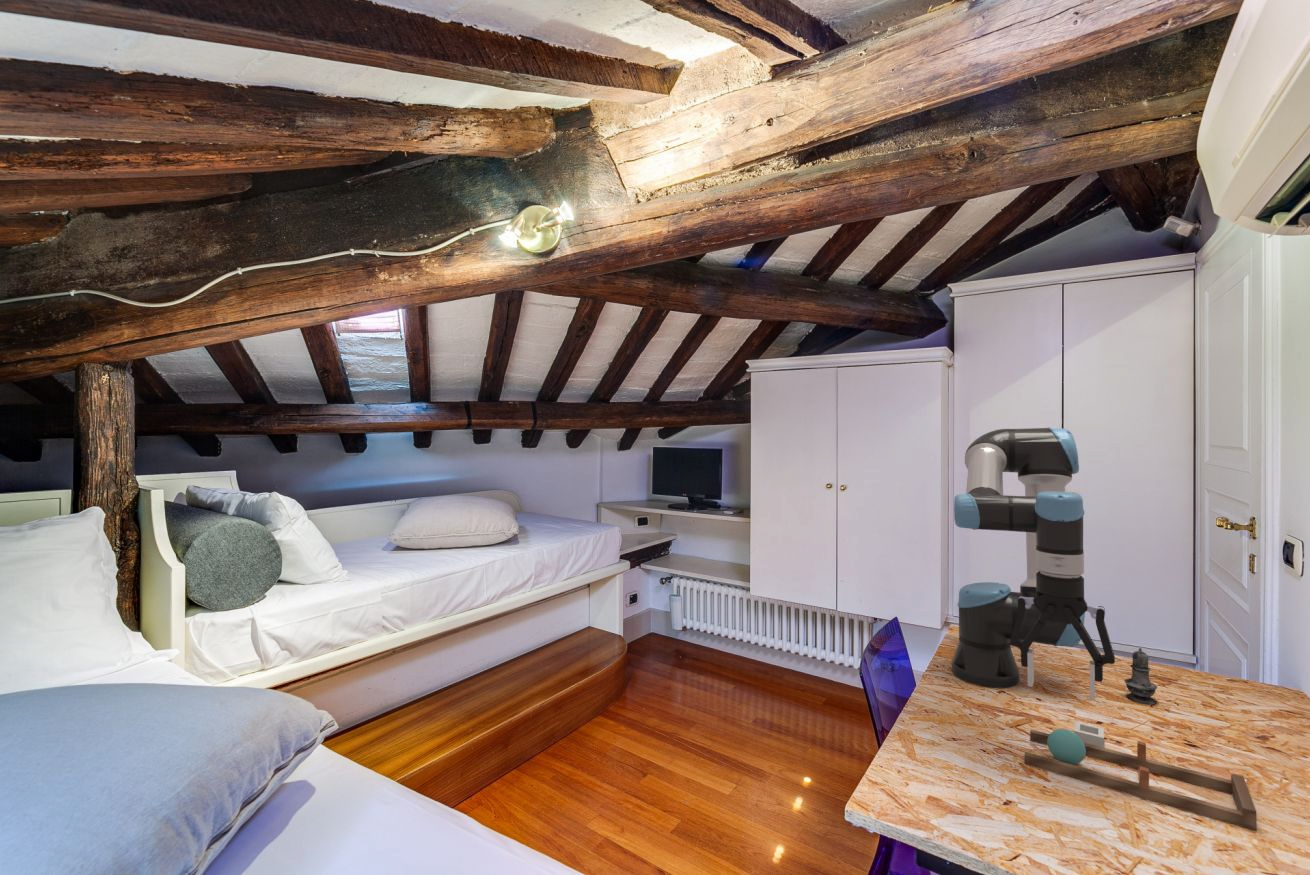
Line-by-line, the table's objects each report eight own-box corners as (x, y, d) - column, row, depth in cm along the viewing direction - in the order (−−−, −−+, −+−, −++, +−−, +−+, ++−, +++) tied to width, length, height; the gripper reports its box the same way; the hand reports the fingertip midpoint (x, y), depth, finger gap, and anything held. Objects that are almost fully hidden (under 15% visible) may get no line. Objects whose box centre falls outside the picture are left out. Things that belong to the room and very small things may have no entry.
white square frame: (1074, 740, 118) (1074, 730, 118) (1075, 730, 122) (1075, 721, 122) (1104, 748, 115) (1103, 738, 115) (1104, 737, 119) (1104, 727, 119)
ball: (1041, 759, 111) (1050, 733, 110) (1044, 742, 116) (1053, 717, 114) (1079, 777, 108) (1089, 750, 106) (1081, 759, 112) (1090, 733, 111)
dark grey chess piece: (1164, 704, 132) (1163, 652, 132) (1138, 705, 132) (1137, 652, 132) (1143, 693, 138) (1142, 642, 138) (1118, 693, 138) (1117, 643, 138)
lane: (1024, 763, 111) (1024, 738, 111) (1030, 737, 120) (1030, 714, 120) (1256, 830, 92) (1256, 800, 92) (1243, 793, 101) (1243, 766, 101)
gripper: (991, 569, 115) (992, 682, 115) (1133, 586, 102) (1135, 714, 102) (997, 562, 121) (998, 670, 121) (1132, 577, 107) (1133, 698, 108)
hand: (1060, 690), depth 112 cm, fingers open, 9 cm apart
